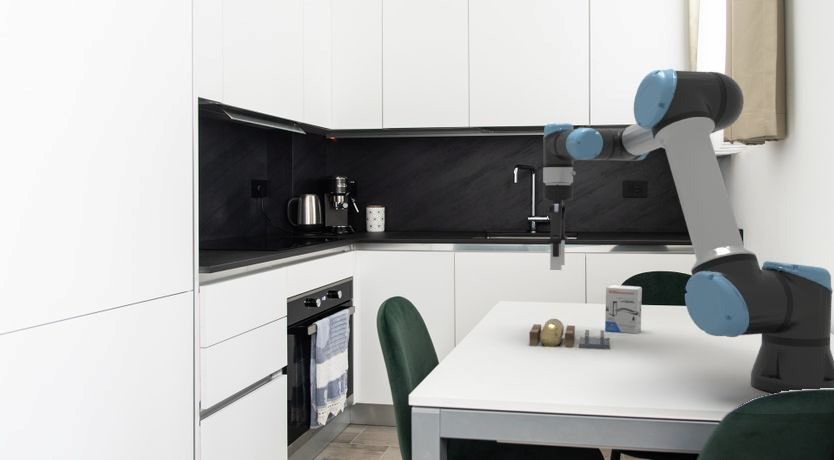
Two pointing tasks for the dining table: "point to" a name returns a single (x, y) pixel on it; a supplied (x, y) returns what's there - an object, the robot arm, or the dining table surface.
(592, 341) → the cradle
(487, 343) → the dining table surface
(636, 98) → the robot arm
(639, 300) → the ink box
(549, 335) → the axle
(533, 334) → the wooden rail pair
